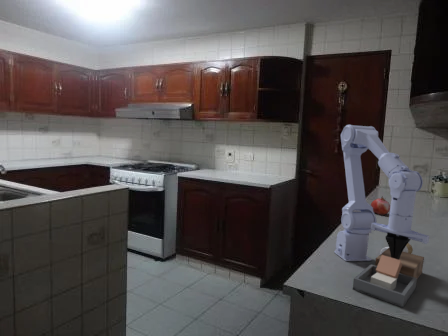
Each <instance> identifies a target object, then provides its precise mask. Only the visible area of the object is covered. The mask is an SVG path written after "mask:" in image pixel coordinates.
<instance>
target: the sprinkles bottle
mask: <svg viewBox="0 0 448 336" xmlns="http://www.w3.org/2000/svg"><path fill="white" fill-rule="evenodd" d="M388 248H389V246H385V247H383V248H381V249H380V252H379V253H380V254H379V255H381V254H382V253H383V252H384V251H386V250H387V249H388ZM413 249H414V248H413V246H412V244H410V243H409V242H408V244H407V245H406V246H405V248H404V250H403V252H406V253H410V254H413V251H414V250H413Z"/></svg>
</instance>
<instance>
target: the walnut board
mask: <svg viewBox="0 0 448 336" xmlns="http://www.w3.org/2000/svg"><path fill="white" fill-rule="evenodd" d="M382 255H384V256H388V257H391V253H390V249H389V248H388V249H387V250H386V251H384V252H383V253H382V254H381V255H380V254H379V255H378V256H377V257H376V258H375V262H374V265H375V266H378V263H379V261H380V258H381V256H382ZM399 260H401V263H402V267H401V270H400V272H399V273H401V274H405V275H408V276H411V277H415V278H417V280H418V279H419V277H420V276H421V275H422V273H423V270H424V268H423V267H424V260H425V257H424V256H423V255H422V256H421V255H417V254H413V253H411V254H410V253H406V252H403V251H402V253H401V256H400V258H399Z"/></svg>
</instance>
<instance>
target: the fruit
mask: <svg viewBox="0 0 448 336" xmlns="http://www.w3.org/2000/svg"><path fill="white" fill-rule="evenodd" d="M370 205H371V206H372V207H373V212H374V214H377V215H380V216H384V215H386V214H388V213H390V207H391V203H389V202H388V201H387V200H386V198H384V197H383V195H381V198H380V197H379V198H376V199H374V200H373V201H371V203H370Z"/></svg>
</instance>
